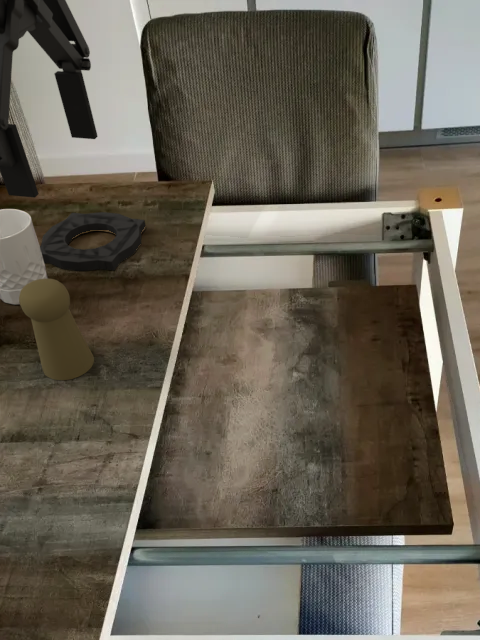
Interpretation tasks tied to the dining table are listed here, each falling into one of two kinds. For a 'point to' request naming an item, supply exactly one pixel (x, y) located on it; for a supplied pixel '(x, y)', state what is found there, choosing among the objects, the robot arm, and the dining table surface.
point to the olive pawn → (55, 330)
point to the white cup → (18, 254)
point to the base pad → (96, 258)
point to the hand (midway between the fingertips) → (56, 164)
